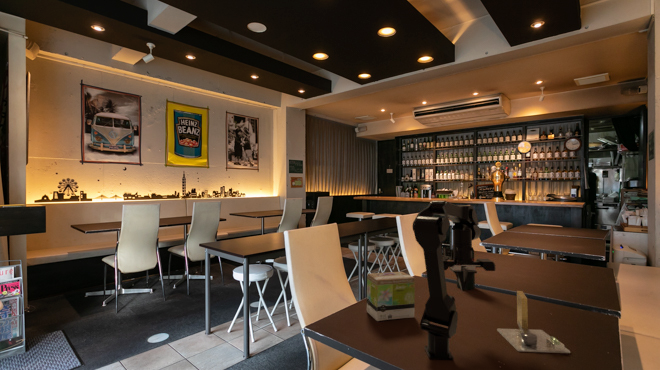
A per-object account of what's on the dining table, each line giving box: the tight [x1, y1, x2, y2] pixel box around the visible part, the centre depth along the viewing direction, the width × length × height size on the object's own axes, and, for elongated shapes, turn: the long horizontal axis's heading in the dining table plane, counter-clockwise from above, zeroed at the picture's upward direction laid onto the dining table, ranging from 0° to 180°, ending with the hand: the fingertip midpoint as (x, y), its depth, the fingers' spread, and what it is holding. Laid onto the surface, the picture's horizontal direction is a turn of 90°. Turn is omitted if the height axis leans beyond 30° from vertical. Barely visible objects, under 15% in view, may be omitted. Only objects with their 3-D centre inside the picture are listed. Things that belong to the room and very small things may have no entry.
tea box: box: [366, 271, 416, 322], centre depth 119 cm, size 15×10×15 cm, turn 106°
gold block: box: [516, 290, 537, 345], centre depth 101 cm, size 16×4×11 cm, turn 159°
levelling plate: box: [496, 328, 571, 354], centre depth 98 cm, size 14×14×3 cm
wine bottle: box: [456, 248, 476, 291], centre depth 152 cm, size 8×10×30 cm
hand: (463, 290), depth 106 cm, fingers closed
